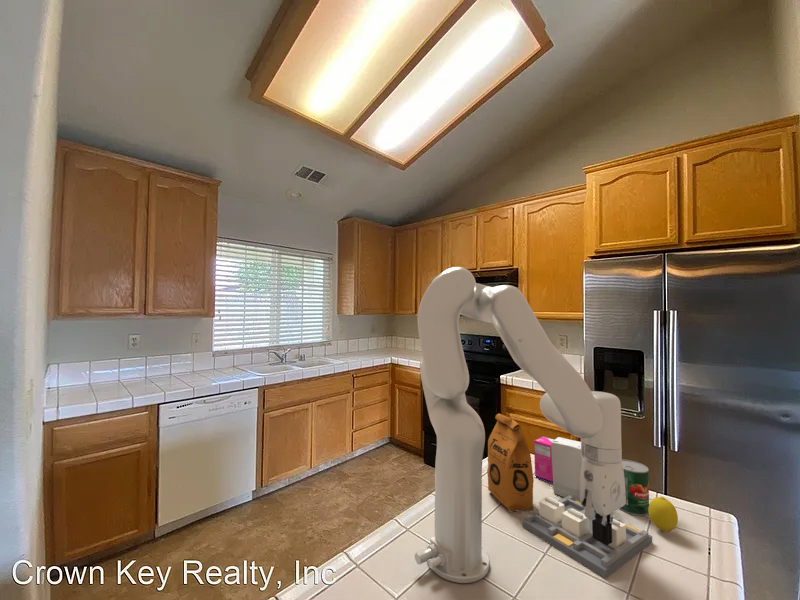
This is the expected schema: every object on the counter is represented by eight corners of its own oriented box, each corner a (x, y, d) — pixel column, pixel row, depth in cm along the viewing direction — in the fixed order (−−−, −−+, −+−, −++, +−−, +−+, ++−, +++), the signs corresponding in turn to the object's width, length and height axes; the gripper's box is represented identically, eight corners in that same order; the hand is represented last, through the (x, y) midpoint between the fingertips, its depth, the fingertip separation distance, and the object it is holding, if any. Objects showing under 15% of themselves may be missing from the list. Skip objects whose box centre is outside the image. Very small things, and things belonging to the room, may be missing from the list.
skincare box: (590, 497, 96) (589, 443, 97) (582, 505, 92) (582, 448, 93) (559, 486, 102) (559, 435, 103) (551, 493, 98) (550, 440, 99)
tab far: (554, 527, 80) (554, 506, 80) (539, 518, 83) (539, 498, 83) (564, 521, 82) (564, 501, 82) (549, 513, 85) (549, 494, 85)
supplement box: (543, 471, 112) (542, 435, 112) (561, 478, 107) (561, 441, 108) (533, 476, 108) (533, 439, 109) (552, 484, 104) (552, 445, 104)
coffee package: (503, 515, 87) (504, 426, 88) (483, 490, 99) (483, 413, 100) (539, 511, 89) (539, 425, 90) (515, 487, 101) (515, 411, 102)
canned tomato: (618, 496, 97) (617, 456, 97) (652, 507, 91) (651, 465, 92) (610, 507, 91) (609, 464, 92) (646, 520, 86) (645, 474, 86)
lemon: (649, 521, 85) (648, 488, 85) (678, 531, 81) (677, 496, 82) (647, 532, 81) (647, 497, 81) (678, 542, 77) (677, 506, 77)
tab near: (616, 550, 72) (616, 527, 72) (597, 539, 75) (597, 518, 75) (626, 543, 74) (625, 521, 74) (606, 533, 77) (606, 512, 78)
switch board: (605, 578, 66) (605, 565, 66) (522, 526, 82) (522, 516, 82) (652, 543, 77) (652, 531, 77) (570, 503, 93) (570, 493, 93)
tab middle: (579, 541, 75) (578, 519, 75) (561, 531, 78) (561, 510, 78) (589, 535, 77) (588, 513, 77) (571, 525, 80) (571, 505, 80)
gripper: (599, 466, 66) (601, 565, 65) (637, 450, 74) (639, 538, 73) (563, 452, 72) (564, 542, 72) (601, 439, 80) (602, 520, 80)
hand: (602, 540), depth 72 cm, fingers closed
